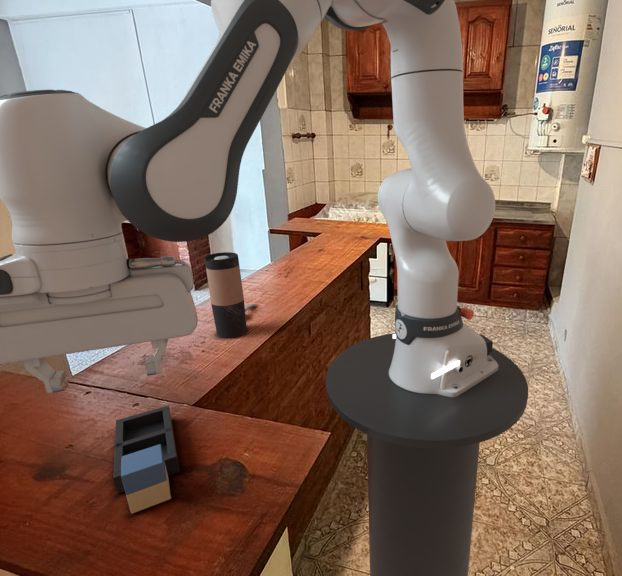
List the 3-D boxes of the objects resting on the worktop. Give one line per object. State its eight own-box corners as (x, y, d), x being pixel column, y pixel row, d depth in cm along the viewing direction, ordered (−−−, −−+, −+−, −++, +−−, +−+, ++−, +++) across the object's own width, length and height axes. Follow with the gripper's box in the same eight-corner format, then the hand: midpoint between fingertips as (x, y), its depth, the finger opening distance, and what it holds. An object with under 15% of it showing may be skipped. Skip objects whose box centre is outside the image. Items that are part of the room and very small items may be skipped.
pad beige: (168, 478, 55) (164, 461, 55) (171, 498, 52) (166, 480, 51) (131, 492, 53) (126, 474, 52) (131, 514, 50) (126, 495, 49)
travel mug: (249, 325, 105) (240, 251, 99) (245, 337, 98) (235, 259, 92) (219, 327, 104) (208, 252, 98) (212, 339, 97) (200, 260, 90)
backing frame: (171, 419, 68) (168, 405, 67) (180, 472, 57) (176, 456, 56) (119, 434, 64) (116, 420, 63) (117, 494, 53) (113, 477, 52)
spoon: (232, 321, 107) (231, 314, 107) (248, 308, 119) (247, 301, 118) (243, 321, 107) (242, 314, 107) (257, 308, 119) (257, 301, 118)
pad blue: (164, 461, 55) (160, 443, 54) (166, 480, 51) (162, 462, 50) (126, 474, 52) (121, 456, 51) (126, 495, 49) (120, 476, 48)
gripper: (190, 248, 47) (207, 352, 52) (-32, 266, 40) (10, 385, 45) (187, 261, 42) (206, 375, 46) (-72, 284, 35) (-19, 418, 39)
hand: (108, 380), depth 45 cm, fingers open, 8 cm apart
